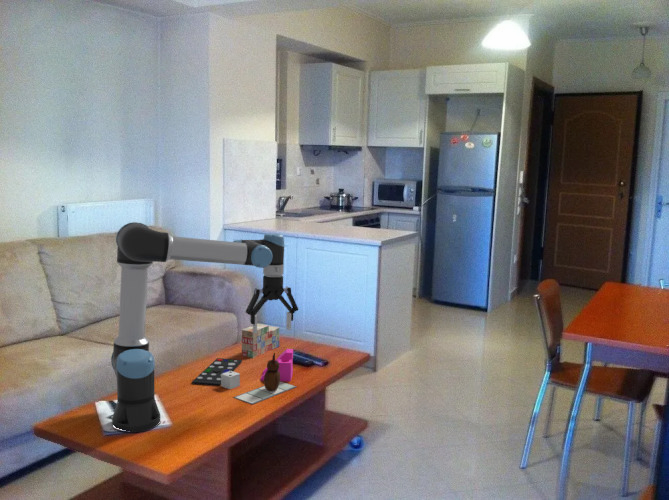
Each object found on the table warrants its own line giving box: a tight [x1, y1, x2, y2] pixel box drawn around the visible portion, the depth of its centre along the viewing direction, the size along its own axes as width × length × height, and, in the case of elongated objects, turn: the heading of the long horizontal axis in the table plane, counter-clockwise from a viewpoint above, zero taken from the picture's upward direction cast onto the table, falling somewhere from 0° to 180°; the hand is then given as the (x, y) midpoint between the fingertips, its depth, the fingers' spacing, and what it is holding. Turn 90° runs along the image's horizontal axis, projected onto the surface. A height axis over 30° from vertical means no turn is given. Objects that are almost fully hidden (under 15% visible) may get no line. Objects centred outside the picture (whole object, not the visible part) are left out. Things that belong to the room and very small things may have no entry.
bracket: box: [259, 348, 294, 382], centre depth 254 cm, size 12×10×10 cm
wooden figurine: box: [263, 352, 280, 391], centre depth 238 cm, size 7×6×15 cm
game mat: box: [232, 381, 297, 406], centre depth 237 cm, size 24×10×1 cm, turn 142°
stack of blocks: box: [241, 323, 281, 359], centre depth 287 cm, size 21×6×12 cm, turn 151°
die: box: [220, 371, 241, 390], centre depth 242 cm, size 5×5×5 cm
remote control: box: [191, 357, 243, 387], centre depth 257 cm, size 11×30×2 cm, turn 172°
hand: (271, 330), depth 236 cm, fingers open, 13 cm apart
